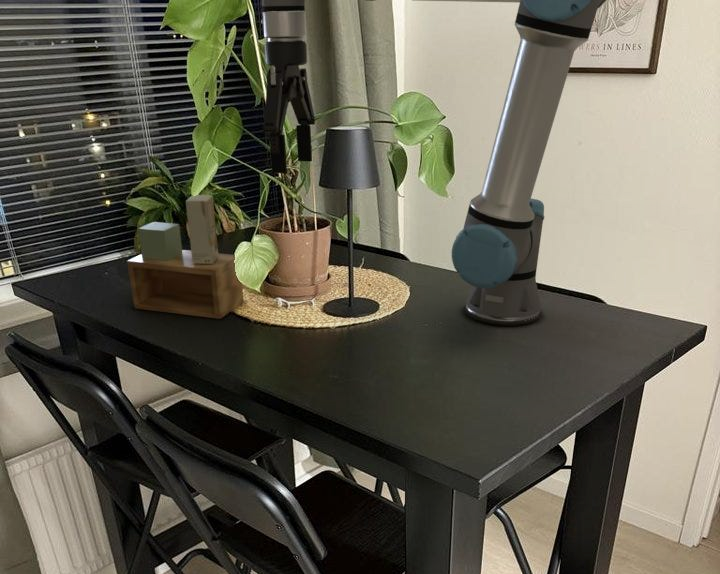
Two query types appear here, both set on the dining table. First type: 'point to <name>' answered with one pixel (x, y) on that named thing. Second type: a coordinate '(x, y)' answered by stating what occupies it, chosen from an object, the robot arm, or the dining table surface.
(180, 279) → the shelf
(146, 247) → the sage box
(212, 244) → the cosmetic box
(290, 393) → the dining table surface
